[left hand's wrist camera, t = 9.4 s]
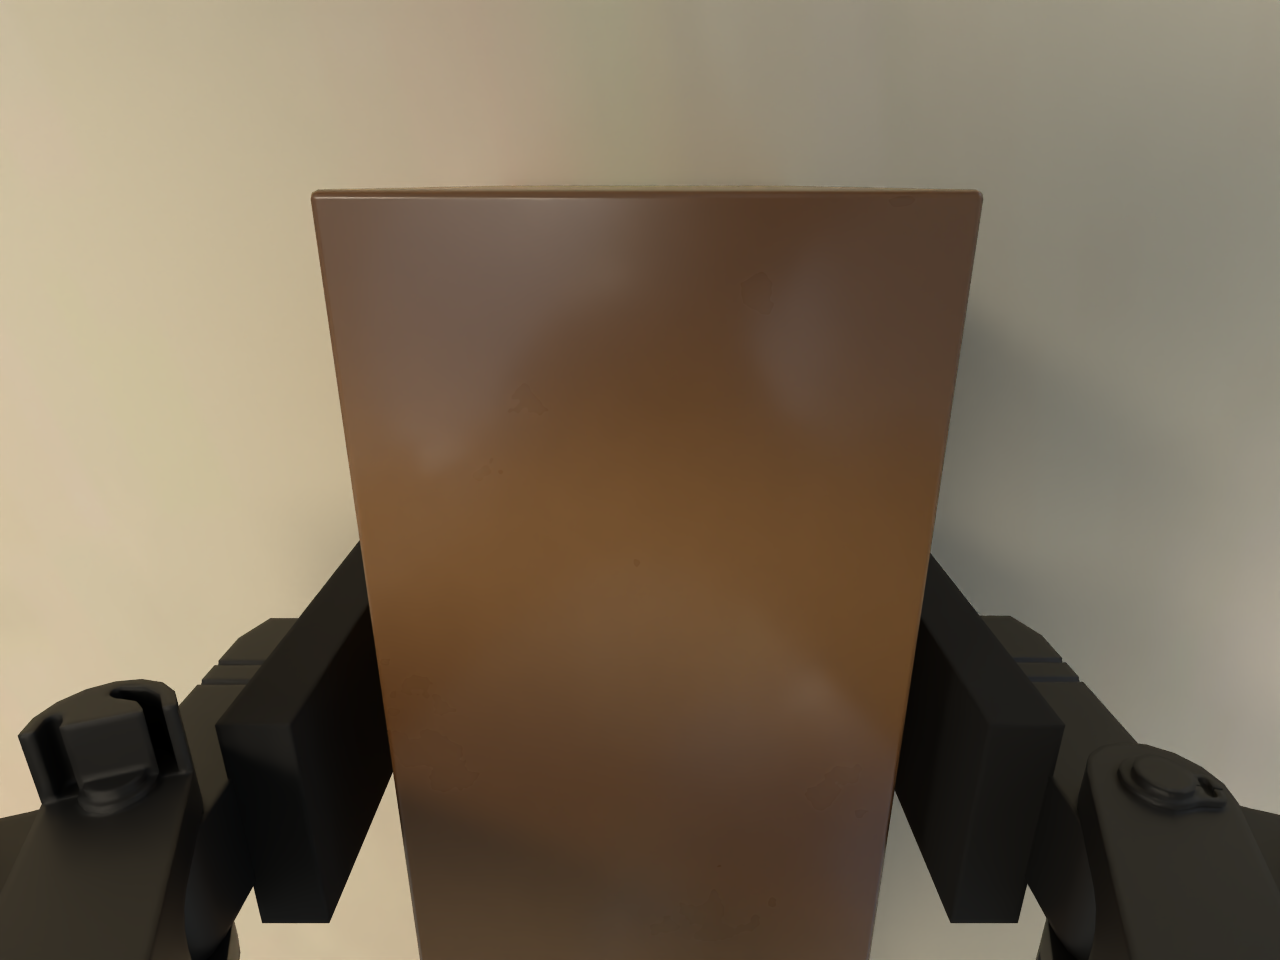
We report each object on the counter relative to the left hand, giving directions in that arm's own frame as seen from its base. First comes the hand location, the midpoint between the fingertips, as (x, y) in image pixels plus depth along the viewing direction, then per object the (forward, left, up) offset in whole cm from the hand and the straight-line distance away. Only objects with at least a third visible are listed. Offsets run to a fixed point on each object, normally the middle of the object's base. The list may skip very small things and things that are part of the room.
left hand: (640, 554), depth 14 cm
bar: (+14, -15, -3) cm, 21 cm away
